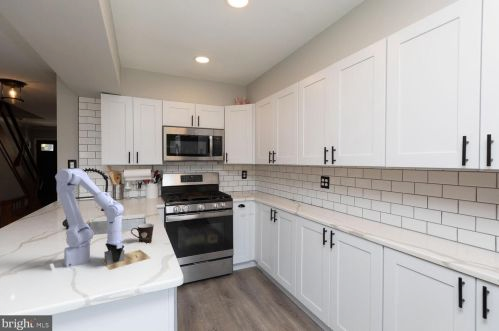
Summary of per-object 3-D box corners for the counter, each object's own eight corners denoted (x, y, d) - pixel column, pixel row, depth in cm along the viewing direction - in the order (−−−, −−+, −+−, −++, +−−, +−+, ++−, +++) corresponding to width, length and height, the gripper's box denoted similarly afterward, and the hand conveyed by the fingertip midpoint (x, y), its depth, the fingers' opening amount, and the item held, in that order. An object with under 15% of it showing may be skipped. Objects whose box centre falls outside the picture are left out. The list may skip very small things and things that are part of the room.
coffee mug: (156, 240, 140) (156, 224, 140) (146, 245, 132) (146, 228, 131) (140, 238, 143) (140, 222, 143) (129, 243, 135) (129, 226, 135)
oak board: (109, 272, 100) (109, 269, 100) (100, 262, 110) (100, 259, 110) (151, 260, 113) (151, 257, 113) (140, 252, 122) (140, 249, 122)
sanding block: (107, 265, 104) (107, 254, 103) (104, 262, 107) (104, 251, 107) (124, 261, 108) (124, 250, 108) (121, 258, 112) (121, 247, 112)
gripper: (129, 232, 105) (129, 262, 105) (119, 225, 115) (119, 252, 116) (111, 235, 100) (111, 267, 100) (102, 228, 110) (102, 256, 111)
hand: (114, 259), depth 108 cm, fingers closed on sanding block, 4 cm apart
